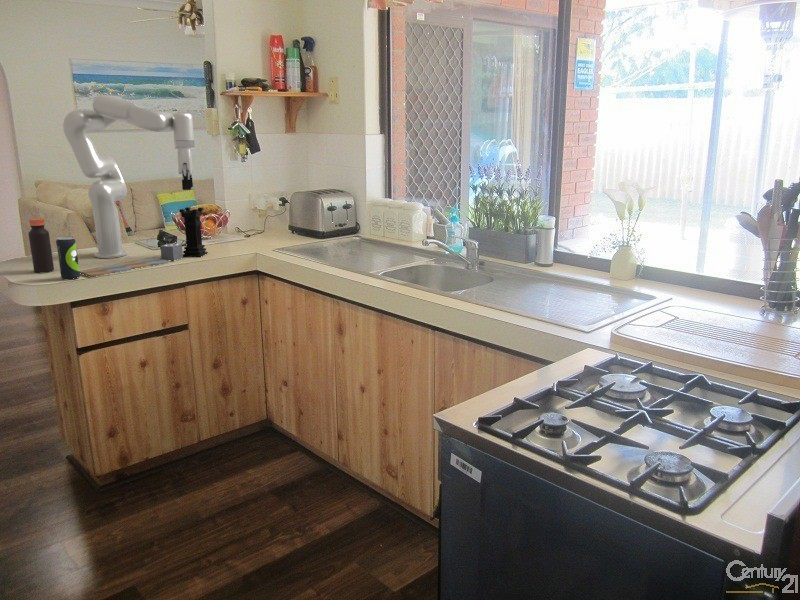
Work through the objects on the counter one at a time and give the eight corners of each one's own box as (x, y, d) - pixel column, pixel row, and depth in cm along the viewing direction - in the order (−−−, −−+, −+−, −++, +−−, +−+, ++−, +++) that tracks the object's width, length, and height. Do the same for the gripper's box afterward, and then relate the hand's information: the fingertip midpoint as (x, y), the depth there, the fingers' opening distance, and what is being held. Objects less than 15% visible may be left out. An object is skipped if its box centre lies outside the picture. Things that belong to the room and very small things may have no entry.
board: (77, 273, 242) (77, 271, 242) (154, 259, 267) (154, 257, 266) (91, 277, 237) (90, 275, 236) (168, 263, 261) (168, 260, 260)
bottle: (31, 271, 246) (23, 219, 241) (50, 268, 251) (42, 217, 245) (38, 274, 242) (29, 221, 236) (57, 271, 246) (49, 219, 241)
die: (161, 260, 266) (160, 245, 264) (171, 257, 271) (169, 243, 269) (174, 261, 264) (172, 246, 262) (183, 258, 269) (181, 244, 268)
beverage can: (58, 278, 236) (53, 237, 232) (76, 275, 240) (71, 235, 236) (64, 281, 231) (59, 240, 227) (82, 278, 236) (77, 237, 232)
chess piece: (207, 253, 279) (204, 207, 274) (200, 257, 272) (196, 210, 266) (190, 253, 280) (186, 207, 275) (182, 256, 272) (178, 209, 267)
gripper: (176, 144, 263) (180, 186, 268) (172, 146, 247) (176, 191, 252) (196, 144, 265) (198, 186, 270) (192, 146, 249) (196, 190, 253)
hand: (187, 188), depth 261 cm, fingers open, 9 cm apart
